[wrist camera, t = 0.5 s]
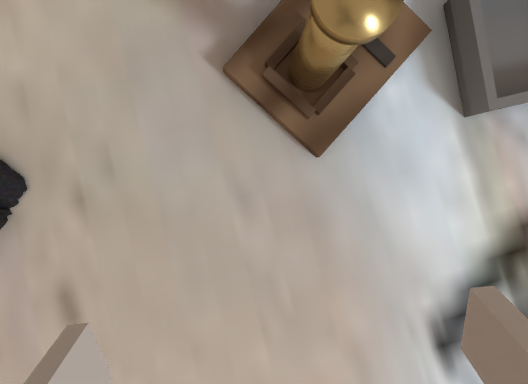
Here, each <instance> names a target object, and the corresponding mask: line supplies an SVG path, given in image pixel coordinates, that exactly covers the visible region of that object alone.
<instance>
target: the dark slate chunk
mask: <svg viewBox="0 0 528 384" xmlns="http://www.w3.org/2000/svg"><path fill="white" fill-rule="evenodd" d="M26 190H27V187H26V185H25V181H24V178H23V177H22V176H20V174H18V173H16V172H15V171H13V170H12V169H11V168H10V167H9V166H8V165H7V164H6V163H5V162H3V161H1V160H0V229H1V228H2V227H3V226H4V225H5V224H6V222H7V220H8V219H7V216H8V215H11V214H12V213H11V211H10V208H11V207H14V206H16V205H17V204H18V203H19V202H18V200H17V199H19V198H20V197H21V196H22V195H23V192H24V191H26ZM3 204H4V205H3ZM5 205H6V206H7V207H6V206H5ZM4 208H6V209H4Z"/></svg>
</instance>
